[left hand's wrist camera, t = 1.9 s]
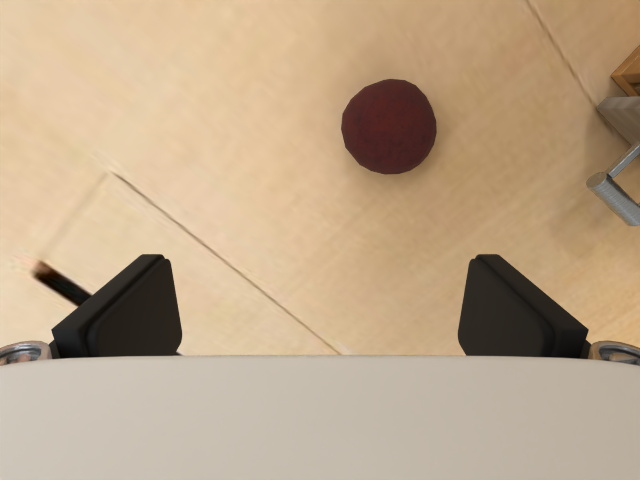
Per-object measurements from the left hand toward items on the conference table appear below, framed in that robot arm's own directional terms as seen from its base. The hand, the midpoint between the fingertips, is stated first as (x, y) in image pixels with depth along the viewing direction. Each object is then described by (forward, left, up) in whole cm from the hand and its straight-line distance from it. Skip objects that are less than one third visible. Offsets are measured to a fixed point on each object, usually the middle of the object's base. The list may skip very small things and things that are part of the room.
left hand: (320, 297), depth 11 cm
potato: (-6, +3, -24) cm, 25 cm away
